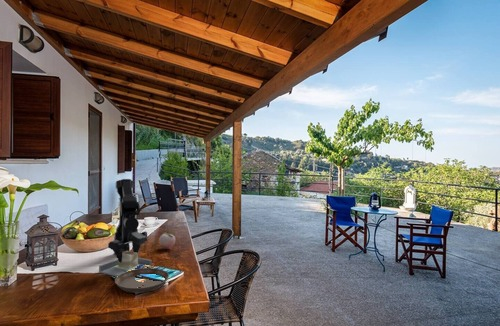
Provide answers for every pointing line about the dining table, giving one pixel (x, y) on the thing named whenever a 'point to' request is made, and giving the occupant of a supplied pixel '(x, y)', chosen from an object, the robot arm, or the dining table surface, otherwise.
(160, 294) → the dining table surface
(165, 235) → the decorative fruit
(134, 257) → the birch block
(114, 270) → the corner arena
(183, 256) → the dining table surface
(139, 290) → the plant saucer
